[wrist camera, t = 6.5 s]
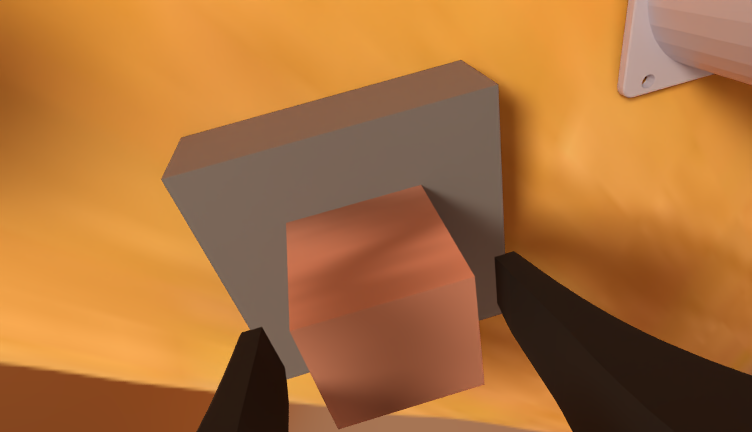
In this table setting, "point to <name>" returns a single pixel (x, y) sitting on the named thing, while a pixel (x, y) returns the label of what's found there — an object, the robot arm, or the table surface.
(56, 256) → the table surface
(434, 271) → the cube
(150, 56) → the table surface
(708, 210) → the table surface
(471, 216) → the base block
